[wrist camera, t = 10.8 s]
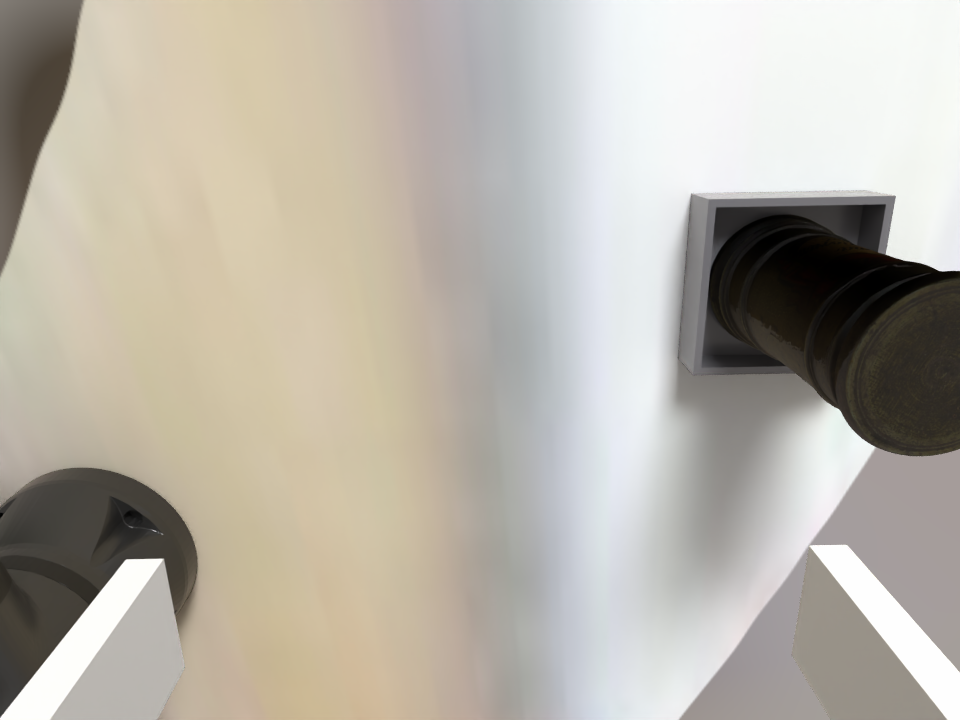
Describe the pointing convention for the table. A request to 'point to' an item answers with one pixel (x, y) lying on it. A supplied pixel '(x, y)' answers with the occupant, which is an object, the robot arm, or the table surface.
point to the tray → (724, 215)
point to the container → (849, 327)
